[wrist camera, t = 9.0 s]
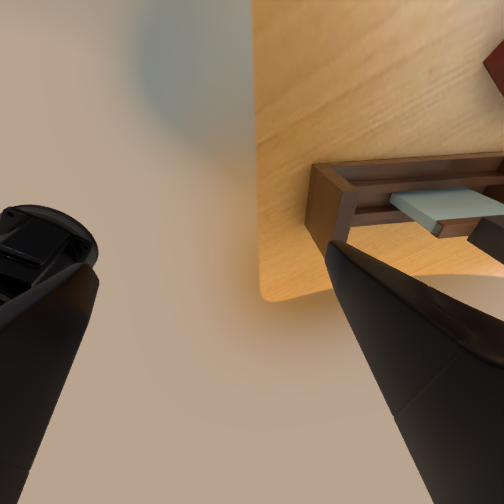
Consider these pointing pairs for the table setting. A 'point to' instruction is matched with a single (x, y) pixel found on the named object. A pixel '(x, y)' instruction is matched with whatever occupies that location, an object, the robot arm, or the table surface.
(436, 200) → the window pane
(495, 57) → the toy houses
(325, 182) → the window frame
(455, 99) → the table surface
